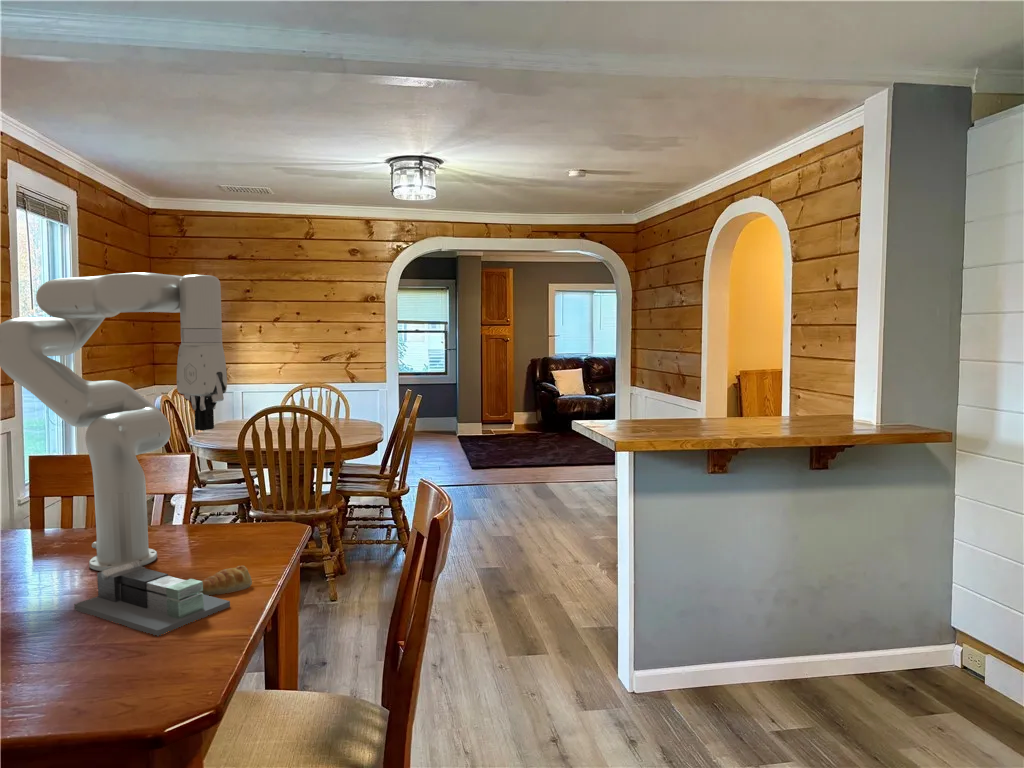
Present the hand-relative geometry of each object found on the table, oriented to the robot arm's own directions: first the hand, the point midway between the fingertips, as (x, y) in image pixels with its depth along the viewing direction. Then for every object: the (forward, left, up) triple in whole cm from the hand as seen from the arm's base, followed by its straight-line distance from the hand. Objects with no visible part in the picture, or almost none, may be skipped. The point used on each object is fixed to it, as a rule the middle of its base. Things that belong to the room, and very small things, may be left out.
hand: (204, 429), depth 145 cm
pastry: (+12, -5, -29) cm, 32 cm away
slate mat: (+8, -18, -29) cm, 35 cm away
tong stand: (+8, -18, -28) cm, 34 cm away
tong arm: (+11, -18, -25) cm, 33 cm away
